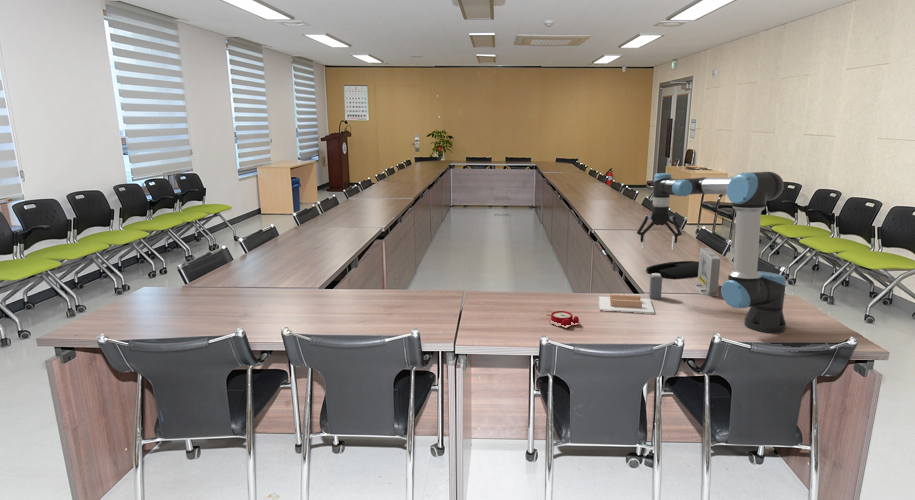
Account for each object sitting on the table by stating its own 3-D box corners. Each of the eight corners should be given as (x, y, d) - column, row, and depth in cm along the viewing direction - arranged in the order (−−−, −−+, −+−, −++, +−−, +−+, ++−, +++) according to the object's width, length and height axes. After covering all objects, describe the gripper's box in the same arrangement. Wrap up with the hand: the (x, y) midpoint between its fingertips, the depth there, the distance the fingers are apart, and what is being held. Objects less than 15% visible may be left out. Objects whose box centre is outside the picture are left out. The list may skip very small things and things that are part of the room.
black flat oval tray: (724, 273, 313) (725, 265, 311) (668, 281, 298) (669, 272, 297) (691, 264, 335) (692, 256, 334) (638, 271, 321) (638, 263, 320)
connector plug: (660, 299, 266) (662, 275, 264) (650, 298, 267) (651, 275, 265) (659, 296, 271) (661, 273, 268) (649, 295, 272) (650, 272, 270)
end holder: (654, 314, 245) (654, 305, 244) (599, 311, 251) (599, 302, 250) (649, 300, 264) (650, 293, 263) (598, 298, 270) (599, 290, 269)
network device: (721, 297, 267) (725, 258, 263) (702, 297, 269) (706, 257, 264) (709, 283, 291) (712, 247, 287) (691, 283, 293) (694, 247, 289)
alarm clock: (560, 309, 244) (584, 310, 231) (561, 322, 244) (586, 325, 232) (542, 313, 238) (567, 315, 226) (544, 327, 238) (569, 330, 226)
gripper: (687, 205, 260) (684, 248, 265) (632, 204, 266) (630, 246, 270) (690, 207, 253) (686, 251, 257) (634, 206, 259) (631, 249, 263)
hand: (658, 249), depth 264 cm, fingers open, 13 cm apart
